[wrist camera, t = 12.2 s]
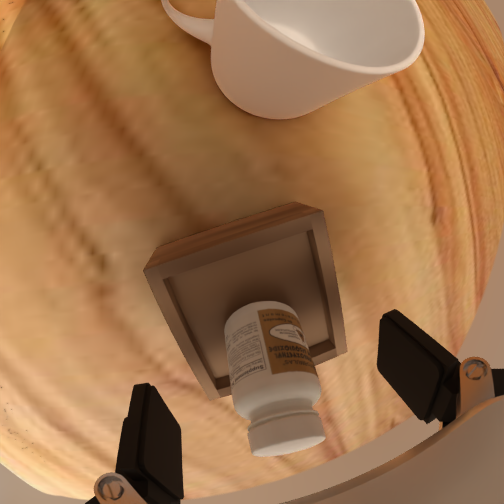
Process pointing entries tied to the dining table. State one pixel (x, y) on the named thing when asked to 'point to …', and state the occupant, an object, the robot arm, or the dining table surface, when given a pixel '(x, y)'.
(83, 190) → the dining table surface
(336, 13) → the mug
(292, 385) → the pill bottle
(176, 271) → the walnut box
